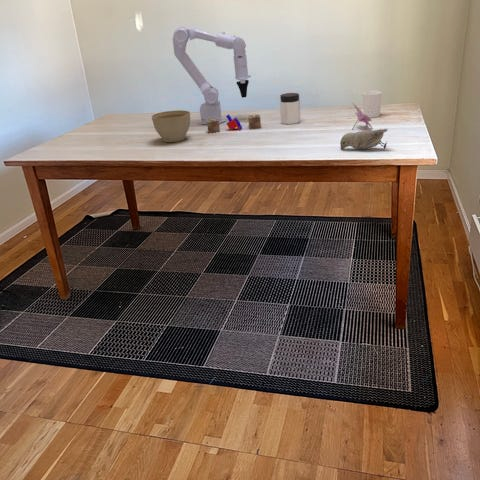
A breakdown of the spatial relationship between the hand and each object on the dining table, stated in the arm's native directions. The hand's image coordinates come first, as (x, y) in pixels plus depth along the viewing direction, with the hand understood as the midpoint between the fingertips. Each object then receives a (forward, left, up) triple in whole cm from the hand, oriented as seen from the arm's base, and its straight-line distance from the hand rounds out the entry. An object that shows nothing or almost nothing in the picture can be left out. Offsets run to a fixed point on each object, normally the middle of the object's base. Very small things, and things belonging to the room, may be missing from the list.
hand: (244, 97), depth 229 cm
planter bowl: (-12, -38, -11) cm, 42 cm away
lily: (+58, -4, -11) cm, 59 cm away
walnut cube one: (+12, -12, -11) cm, 20 cm away
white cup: (+55, +17, -11) cm, 58 cm away
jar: (+24, 0, -11) cm, 26 cm away
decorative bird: (+68, -32, -11) cm, 76 cm away
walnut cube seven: (-3, -22, -11) cm, 25 cm away
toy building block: (+5, -17, -11) cm, 21 cm away
